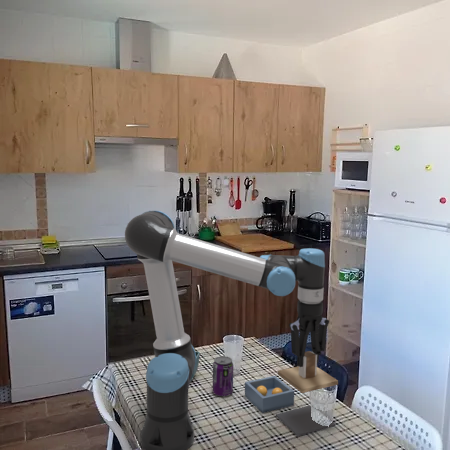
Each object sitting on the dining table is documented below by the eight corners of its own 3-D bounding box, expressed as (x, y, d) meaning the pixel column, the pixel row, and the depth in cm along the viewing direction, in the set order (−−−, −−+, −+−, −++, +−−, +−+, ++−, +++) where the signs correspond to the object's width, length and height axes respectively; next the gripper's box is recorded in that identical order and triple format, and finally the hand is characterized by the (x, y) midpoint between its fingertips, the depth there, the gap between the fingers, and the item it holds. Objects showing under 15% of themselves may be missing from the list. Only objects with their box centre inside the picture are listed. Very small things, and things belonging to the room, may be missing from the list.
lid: (302, 393, 129) (303, 366, 128) (277, 374, 141) (278, 349, 140) (337, 384, 135) (339, 358, 134) (311, 367, 147) (312, 342, 145)
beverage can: (230, 399, 152) (231, 365, 150) (210, 396, 153) (210, 363, 152) (234, 389, 159) (235, 356, 157) (214, 386, 160) (215, 354, 159)
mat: (297, 436, 131) (297, 434, 131) (275, 415, 142) (275, 414, 142) (335, 425, 137) (335, 423, 137) (311, 406, 148) (311, 404, 148)
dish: (262, 413, 143) (262, 398, 143) (244, 395, 154) (245, 382, 153) (293, 405, 149) (294, 391, 148) (274, 389, 159) (274, 375, 159)
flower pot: (170, 383, 162) (170, 359, 161) (177, 372, 171) (177, 349, 170) (194, 385, 161) (194, 361, 160) (199, 374, 169) (200, 351, 168)
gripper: (294, 307, 128) (292, 385, 131) (340, 300, 135) (336, 374, 138) (280, 300, 135) (278, 374, 138) (324, 294, 142) (321, 365, 145)
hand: (307, 374), depth 138 cm, fingers closed on lid, 3 cm apart
